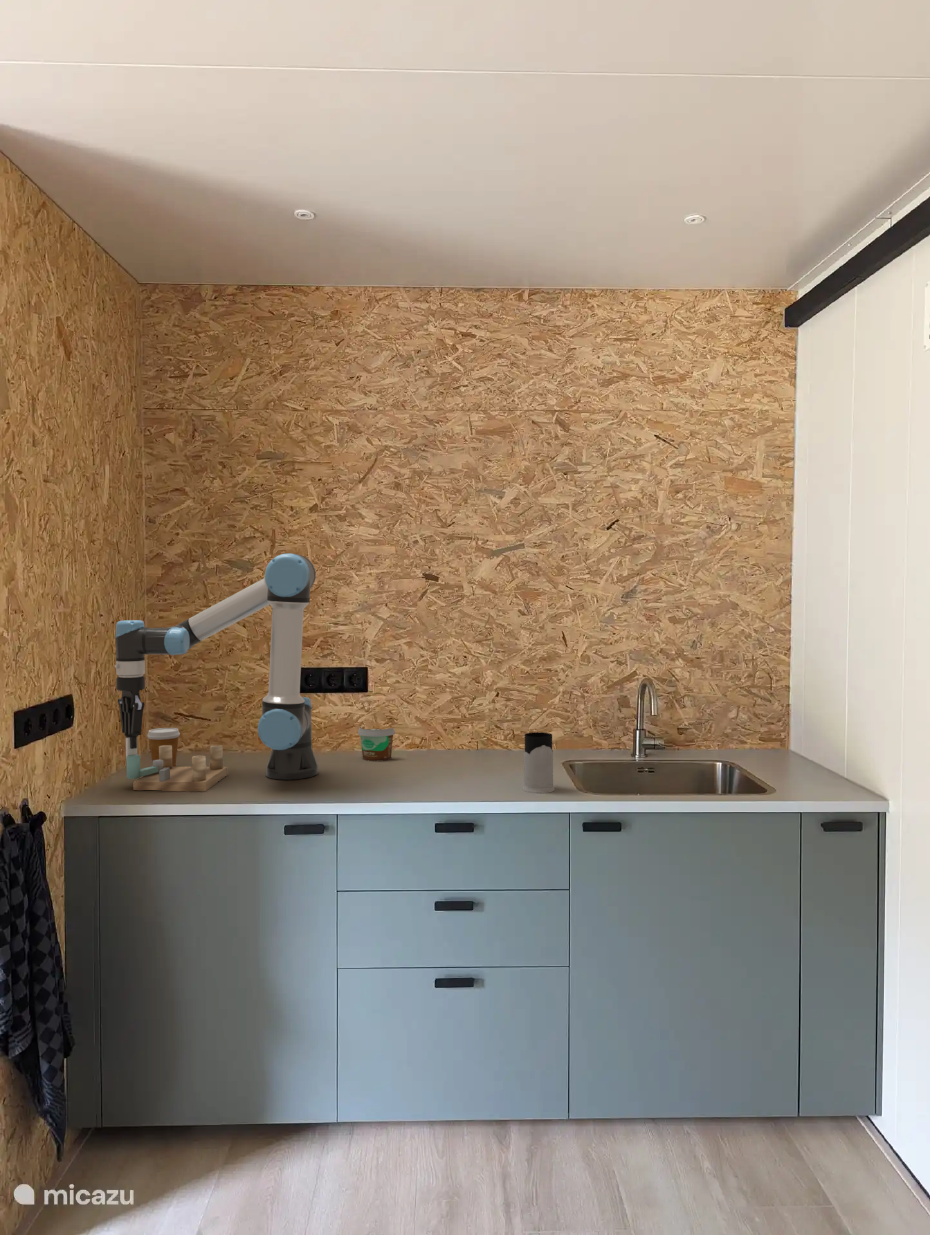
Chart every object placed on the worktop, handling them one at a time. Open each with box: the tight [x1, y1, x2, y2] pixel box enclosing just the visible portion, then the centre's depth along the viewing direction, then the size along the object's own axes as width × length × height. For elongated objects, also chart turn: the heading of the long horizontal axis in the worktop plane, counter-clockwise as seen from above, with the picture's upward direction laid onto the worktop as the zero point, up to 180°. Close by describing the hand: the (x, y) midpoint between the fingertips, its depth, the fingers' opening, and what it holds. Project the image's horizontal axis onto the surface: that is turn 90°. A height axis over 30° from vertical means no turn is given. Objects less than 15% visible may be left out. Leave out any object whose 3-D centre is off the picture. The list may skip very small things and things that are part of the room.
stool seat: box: [132, 744, 229, 792], centre depth 259 cm, size 20×20×9 cm
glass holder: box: [522, 731, 556, 794], centre depth 250 cm, size 9×14×15 cm, turn 16°
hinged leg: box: [125, 754, 163, 780], centre depth 256 cm, size 12×4×6 cm, turn 153°
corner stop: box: [159, 768, 170, 782], centre depth 251 cm, size 2×4×3 cm, turn 177°
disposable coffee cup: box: [147, 727, 181, 767], centre depth 277 cm, size 10×10×12 cm
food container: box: [357, 725, 396, 762], centre depth 290 cm, size 12×6×10 cm, turn 73°
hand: (131, 759), depth 255 cm, fingers closed
